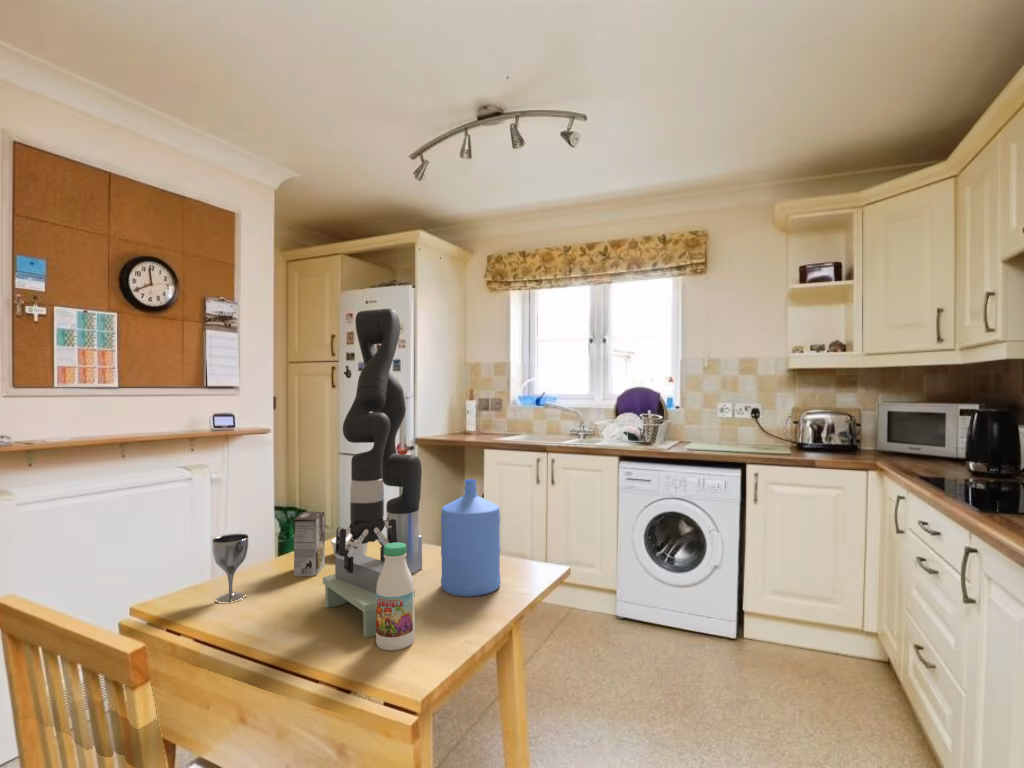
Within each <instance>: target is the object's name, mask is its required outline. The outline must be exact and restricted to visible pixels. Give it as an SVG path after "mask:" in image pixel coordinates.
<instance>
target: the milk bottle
mask: <svg viewBox="0 0 1024 768" xmlns="http://www.w3.org/2000/svg"><path fill="white" fill-rule="evenodd" d="M406 550H407V547H406V544H404V543H400V542H395V543H389V544H386V545H385V546H384V557H385V562H384V566H383V569H382V571H381V574H380V576H379V578H378V582H377V588H376V635H375V641H376V642H375V643H376V645H377V647H378V648H379V649H380V650H384V651H388V652H389V651H394V652H395V651H399V650H402V649H405V648H409V647H410V646H411V645H412V644H413V643H414V640H415V597H414V590H415V586H414V585H415V584H414V578H413V576H412V574H411V573H410V571H409V569H408V566H407V563H406V559H405V556H406V555H407V554H406Z"/></svg>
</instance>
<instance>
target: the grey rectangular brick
mask: <svg viewBox="0 0 1024 768" xmlns="http://www.w3.org/2000/svg"><path fill="white" fill-rule="evenodd" d="M352 556H353V573H350V574H349V573H348V572H347V571H346V570H345V569H344V556H337V557H335V556H334V557H335V558H334V565H335V566H334V567H335V568H334V569H335V570H334V571H335V572H334V574H335V578H337V579H339V580H342V581H344V582H347V583H350V584H352V585H355V586H357V587H360V588H362V589H365V590H368V591H370V592H373V593H375V594H376V588H377V582H378V578H379V576H380V574H381V571H382V569H383V566H384V562H383V561H380V559H377V558H374V557H370V556H367V555H365V554H364V555H362V554H359V553H355V552H354V553H353V555H352Z"/></svg>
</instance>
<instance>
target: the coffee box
mask: <svg viewBox="0 0 1024 768" xmlns="http://www.w3.org/2000/svg"><path fill="white" fill-rule="evenodd" d="M325 531H326V529H325V511H303V512H301V513H300V514H299V515H298V516H296V517H295V518H294V519H293V577H295V576H297V577H315V576H317V575H318V574H319V573H320V572H321V570H322V569H323V568H324V566H325V565H326V563H325V562H326V559H325V558H326V554H325V553H326V552H325V551H326V547H325V546H326V544H325V542H326V541H325V539H326V538H325V536H326V534H325ZM314 575H315V576H314Z"/></svg>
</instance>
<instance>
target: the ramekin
mask: <svg viewBox="0 0 1024 768" xmlns="http://www.w3.org/2000/svg"><path fill="white" fill-rule="evenodd" d="M351 536H352V535H351V533H348V536H347V537H346V544H345V548H346V546H347V544H348V541H349V539H350V538H351ZM355 541H356V540H355ZM330 543H331V546H332V550H333V555H334V557H337V556H340V555H338V554H336V553H335V548H336V536H335V537H333V538H332V539H331V541H330ZM368 543H369V542H368ZM368 543H365V544H362V543H361V544H360V546H359V547H358V548H357V549H356V550H355V553H359V554H362V555H365V554H366V553H367V549H368Z"/></svg>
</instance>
